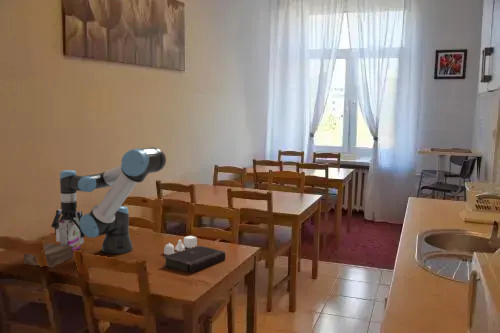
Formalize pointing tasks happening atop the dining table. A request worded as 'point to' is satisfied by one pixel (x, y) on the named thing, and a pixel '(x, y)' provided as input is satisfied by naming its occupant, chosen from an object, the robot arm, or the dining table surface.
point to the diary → (194, 259)
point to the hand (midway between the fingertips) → (69, 242)
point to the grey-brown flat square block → (52, 254)
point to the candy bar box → (69, 234)
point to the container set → (181, 245)
